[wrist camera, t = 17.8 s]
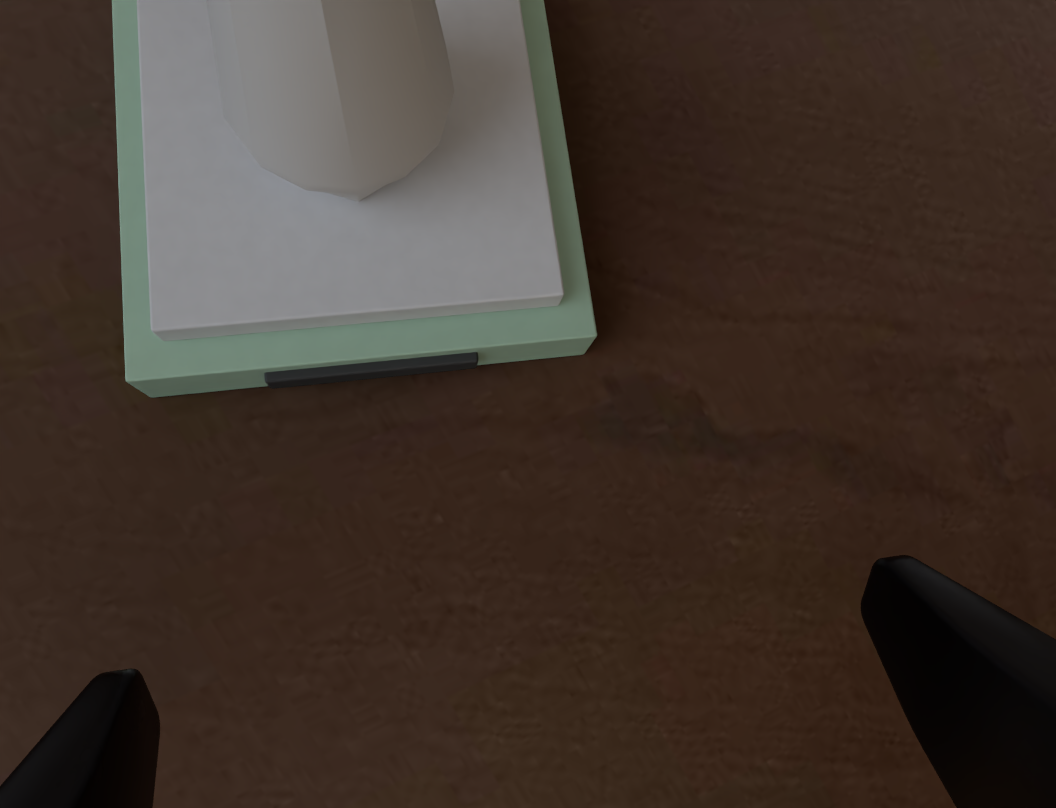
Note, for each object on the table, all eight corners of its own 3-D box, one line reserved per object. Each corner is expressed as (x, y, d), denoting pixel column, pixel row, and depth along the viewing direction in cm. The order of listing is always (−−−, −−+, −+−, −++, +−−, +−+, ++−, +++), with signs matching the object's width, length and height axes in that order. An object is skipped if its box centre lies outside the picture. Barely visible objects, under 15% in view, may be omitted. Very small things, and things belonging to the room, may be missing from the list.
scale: (586, 363, 25) (607, 335, 22) (150, 408, 23) (109, 384, 20) (529, -4, 27) (541, -73, 24) (133, 8, 25) (95, -65, 22)
